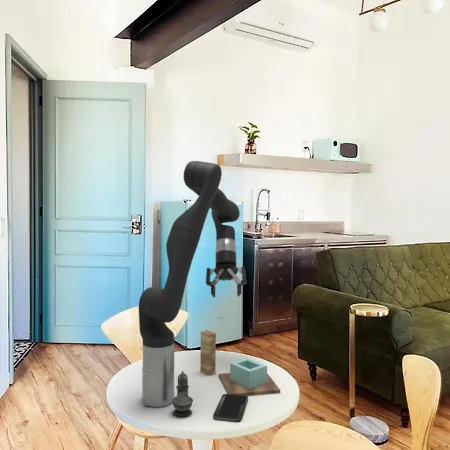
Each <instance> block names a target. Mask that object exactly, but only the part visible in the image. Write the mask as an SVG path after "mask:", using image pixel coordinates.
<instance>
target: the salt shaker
mask: <svg viewBox="0 0 450 450" xmlns="http://www.w3.org/2000/svg"><path fill="white" fill-rule="evenodd" d="M188 383H189V376H188V375H187V373H185V371H184V370H182V371H181V373H180V374H178V376H177V385H176V387H175V388H176V392H177V393H176V397H175V396H174V398H173V400H172V403H171V404H172V405H173V408H174V410H173V412H172V414H173V416H175V417H176V418H181V419H182V418H184V419H185V418H188V417H191V416H192V414H193V412H192V411H193V410H191V407H192V405H193V403H194V399H193V397H191V396H189V388H190V386H189V384H188Z"/></svg>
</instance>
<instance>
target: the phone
mask: <svg viewBox="0 0 450 450" xmlns="http://www.w3.org/2000/svg"><path fill="white" fill-rule="evenodd" d="M248 401H249V396H244V395H231V396H230V395H229V394H228V393H223V394H222V395H221V398H220V399H219V402H218V404H217V406H216V408H215V410H214V412H213V416H212V418H213V419H212V420H214V421H219V422H221V421H222V422H230V423H240V422H241V421H243V417H244V414H245V411H246V407H247V405H248Z"/></svg>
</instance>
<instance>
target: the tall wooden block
mask: <svg viewBox="0 0 450 450" xmlns="http://www.w3.org/2000/svg"><path fill="white" fill-rule="evenodd" d="M216 337H217V333H216V332H213V331H212V330H209V329H208V330H203V331H200V366H199V367H200V369H199V370H200V373H202V374H204V375H206V376H207V377H209V376H213V375H215V374H216V372H217V371H216V368H217V367H216V365H217V364H216V361H217V359H216V358H217V357H216V350H217V349H216V347H217V345H216V343H217V339H216Z"/></svg>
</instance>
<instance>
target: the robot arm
mask: <svg viewBox="0 0 450 450" xmlns="http://www.w3.org/2000/svg"><path fill="white" fill-rule="evenodd" d="M222 172H223V171H222V168H221V166H220V165H219V164H217V163H214V162H208V161H207V162H206V161H201V160H200V161H199V160H192V161H189V162H188V163H187V164H186V165H185V167H184V170H183V182H184V184H185V186H186V187H187V188H188V189H189V190H191V191H192V192H193V193H195V194H196V195H197V198H196V200H195V201H194V203H193V204H192V205H191V206H189V207H188V208H187V209H186V210H185V211H184V212H183V213H182V214H180V215H179V216H178V217H177V218H176V219H175V221H173V223H172V225H171V228H170V230H169V234H168V237H167V240H166V243H165V249H166V255H167V263H168V272H167V273H168V274H167V278H166V281H165V284H164V287H161V288H160V287H155V286H153V287H152V286H150V287H147V288H146V289H144V291H142V293H141V294H140V297H139V301H138V324H139V326H138V327H139V334H140V337H141V339H142V366H141V373H142V374H141V376H142V377H141V379H142V381H141V382H142V383H141V384H142V385H141V386H142V387H141V397H142V406H143V407H152V408H162V407H166V406H169V405H171V404H173V403H172V400H173V398H175V334H174V332H173V331H172V330H171V329H170V328H169V327H168V325H167V324H166V323H171V322H173V321H174V320H175V319H176V318H177V316H178V315H179V313H180V310H181V306H182V303H183V299H184V294H185V290H186V286H187V285H186V284H187V282H188V281H187V280H188V277H189V273H190V269H191V266H192V263H193V261H194V260H193V259H194V257H195V255H196V250H197V248H198V245H199V242H200V240H201V236H202V232H203V230H204V229H203V228H204V226H205V222H206V219H207V216H208V213H209V211H210V210H211V218H212V220H213V224H214V229H215V235H216V236H215V238H216V239H215V240H216V241H215V267H214V268H210V267H207V268H206V275H205V284H206V286H208V287H210V294H211V296H212V297H213V298H216V286H217V285H218V284H219V282H220V281H224V282H225V281H231V280H233V282H234V283H236V291H237V293H236V294H237V297H240V296H241V295H242V293H243V292H242V286H245V285H247V282H248V281H247V275H246V267H245V266H244V265H243V266H241V267H238V266H237V246H236V245H237V244H236V229H235V228H234V226H231V225H228V223H234V222H236V221H238V220H239V218H240V215H241V214H240V208H239V207H238V205H237V204H236V203H235V202H234V201H232V200H231V199H229V198H228V197H227V196H226V194H225V193H224V191H222V190H221V189H220V188H219V186H220V184H221V181H222ZM238 272H239V274H241V277H242V280H240V278H239V277H238V276H237V274H238ZM213 273H214V274H215V276H214V278H213V279H212V281H211V276H212V275H213Z"/></svg>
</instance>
